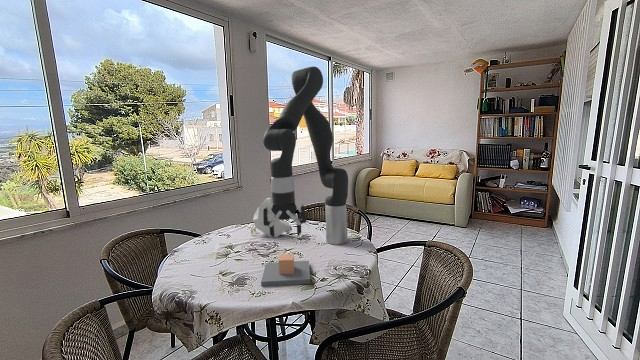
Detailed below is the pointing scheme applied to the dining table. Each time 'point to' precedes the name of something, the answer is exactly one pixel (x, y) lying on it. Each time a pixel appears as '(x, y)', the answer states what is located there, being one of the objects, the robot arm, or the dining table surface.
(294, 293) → the dining table surface
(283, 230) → the chicken
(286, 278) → the mat
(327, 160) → the robot arm
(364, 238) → the dining table surface
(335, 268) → the dining table surface
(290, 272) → the cube
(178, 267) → the dining table surface
